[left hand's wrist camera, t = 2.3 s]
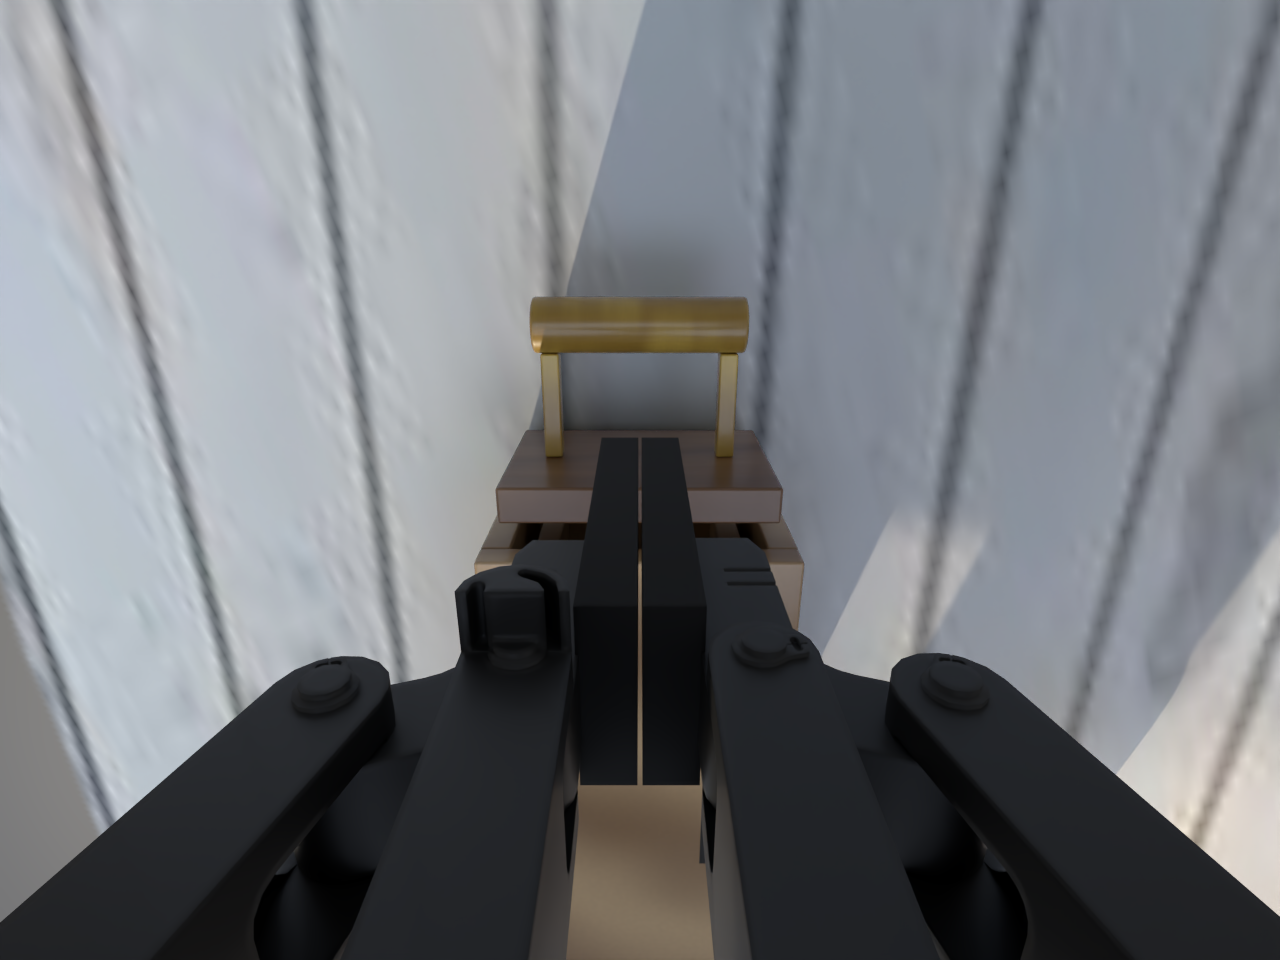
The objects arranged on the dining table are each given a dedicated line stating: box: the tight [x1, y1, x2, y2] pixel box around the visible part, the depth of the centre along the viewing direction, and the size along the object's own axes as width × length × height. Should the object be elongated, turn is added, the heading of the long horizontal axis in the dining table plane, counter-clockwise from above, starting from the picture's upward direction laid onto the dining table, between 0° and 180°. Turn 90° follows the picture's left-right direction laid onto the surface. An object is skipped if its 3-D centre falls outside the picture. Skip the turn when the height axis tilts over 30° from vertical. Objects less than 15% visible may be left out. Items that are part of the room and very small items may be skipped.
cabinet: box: [474, 514, 804, 960], centre depth 28 cm, size 20×10×8 cm, turn 0°
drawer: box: [496, 297, 783, 549], centre depth 26 cm, size 24×9×6 cm, turn 0°
